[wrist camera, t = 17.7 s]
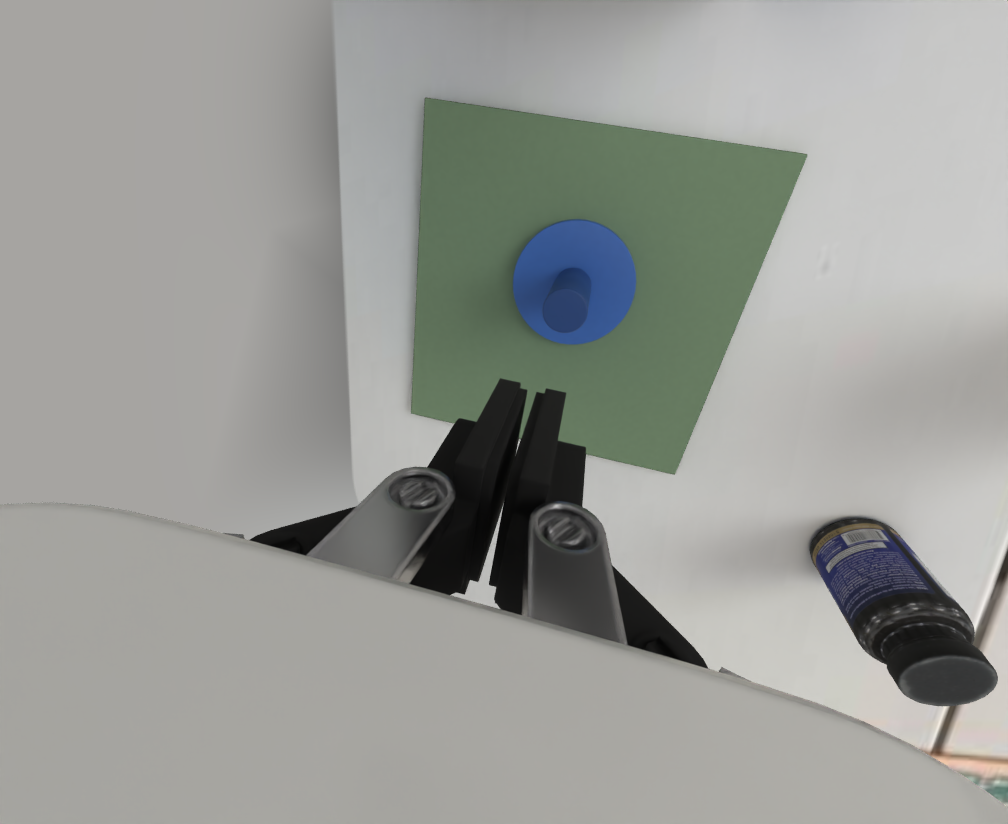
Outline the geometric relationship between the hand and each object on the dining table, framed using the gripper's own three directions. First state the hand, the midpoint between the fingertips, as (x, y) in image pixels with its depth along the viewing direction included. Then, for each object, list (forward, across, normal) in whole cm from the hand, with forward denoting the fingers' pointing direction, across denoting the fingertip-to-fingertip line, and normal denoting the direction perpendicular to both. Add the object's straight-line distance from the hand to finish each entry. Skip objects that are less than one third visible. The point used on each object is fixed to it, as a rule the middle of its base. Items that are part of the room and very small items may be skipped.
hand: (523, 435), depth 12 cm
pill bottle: (+21, -26, +16) cm, 37 cm away
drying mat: (+21, 0, +2) cm, 21 cm away
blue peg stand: (+20, 0, 0) cm, 21 cm away
